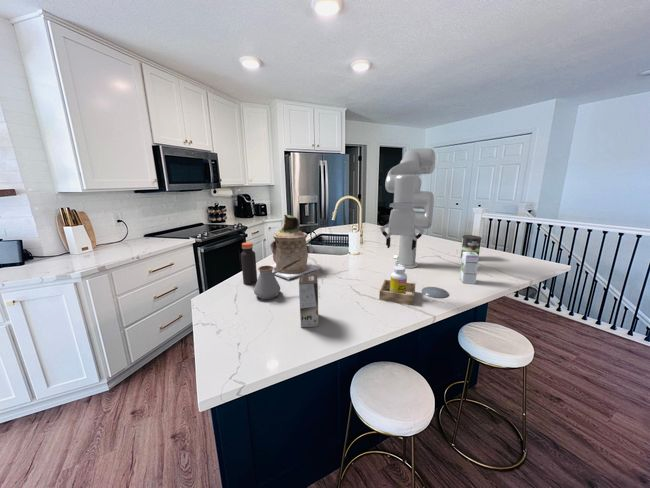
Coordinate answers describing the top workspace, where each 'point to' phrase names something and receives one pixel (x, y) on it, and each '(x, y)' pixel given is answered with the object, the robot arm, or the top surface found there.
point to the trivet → (435, 292)
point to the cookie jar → (290, 250)
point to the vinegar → (248, 264)
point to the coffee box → (308, 300)
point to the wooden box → (397, 294)
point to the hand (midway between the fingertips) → (400, 248)
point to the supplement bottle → (398, 280)
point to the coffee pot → (268, 282)
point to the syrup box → (469, 267)
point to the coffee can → (470, 244)
